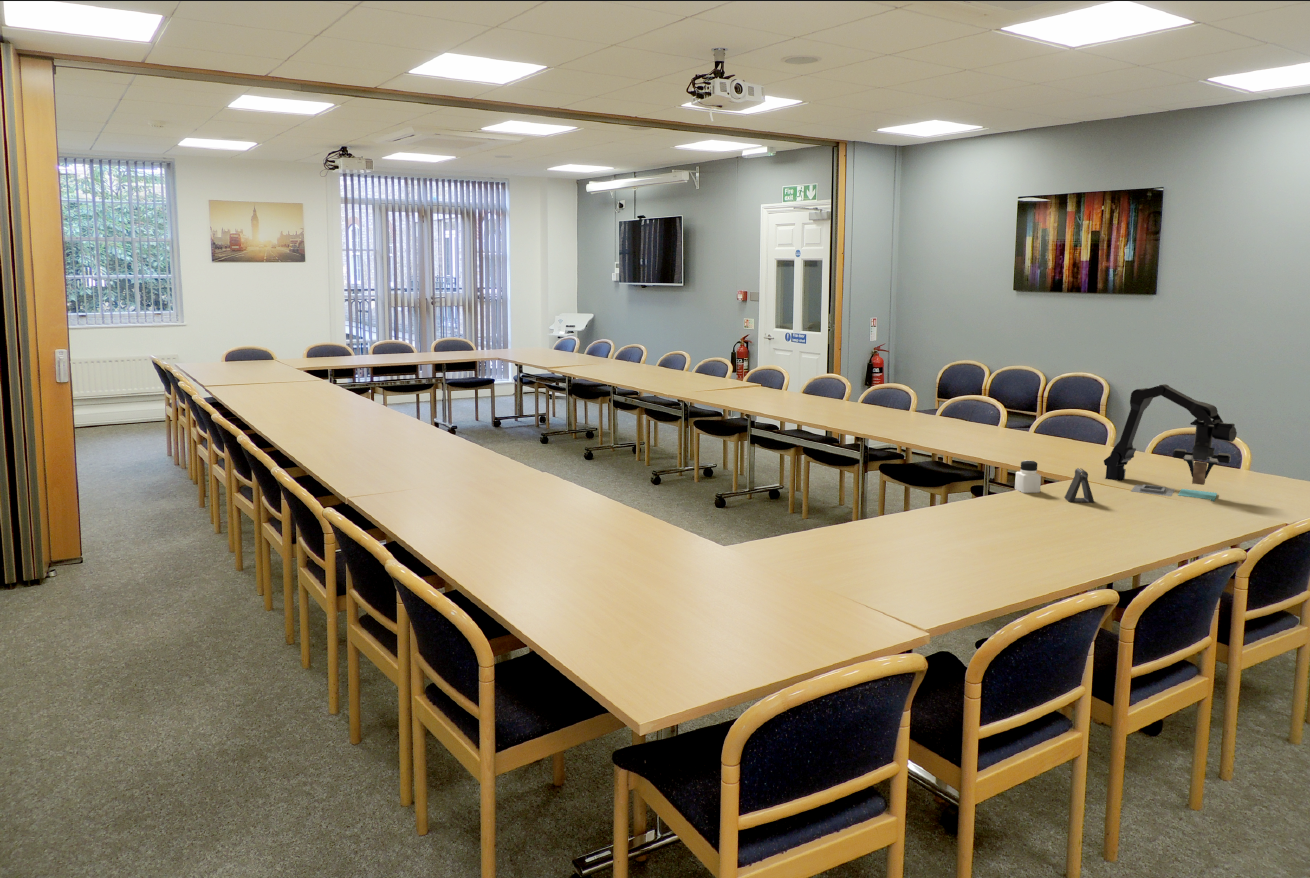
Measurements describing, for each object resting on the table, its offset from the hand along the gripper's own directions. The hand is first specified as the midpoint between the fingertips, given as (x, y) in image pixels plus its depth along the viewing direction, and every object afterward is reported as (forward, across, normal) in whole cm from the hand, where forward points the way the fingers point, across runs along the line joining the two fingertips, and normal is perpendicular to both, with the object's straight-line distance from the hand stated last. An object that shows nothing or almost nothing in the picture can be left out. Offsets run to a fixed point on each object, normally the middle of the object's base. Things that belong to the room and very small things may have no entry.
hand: (1199, 477), depth 351 cm
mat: (+7, 0, 0) cm, 7 cm away
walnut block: (+2, 0, 0) cm, 2 cm away
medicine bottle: (+8, -56, -28) cm, 63 cm away
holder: (+7, -15, -2) cm, 17 cm away
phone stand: (+8, -36, -33) cm, 49 cm away
